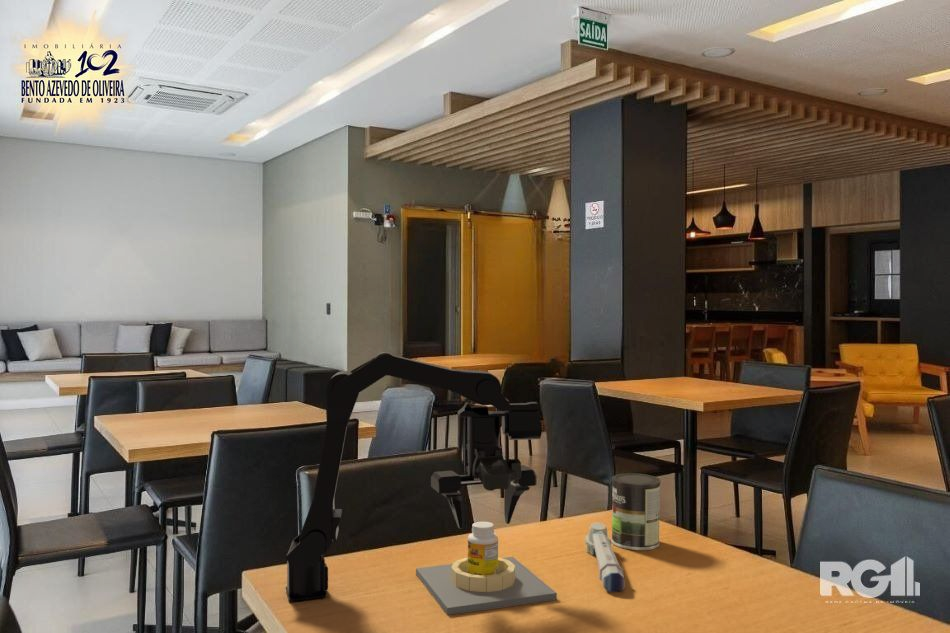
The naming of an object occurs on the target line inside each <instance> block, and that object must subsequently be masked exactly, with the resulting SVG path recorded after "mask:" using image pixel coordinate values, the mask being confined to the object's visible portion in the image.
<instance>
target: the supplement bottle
mask: <svg viewBox="0 0 950 633" xmlns="http://www.w3.org/2000/svg"><path fill="white" fill-rule="evenodd" d="M471 532H472V533H470V534H468V535H467V557H468V573H469V574H472V575H485V576H486V575H494V574H498V557H499V536H498V535H497V534H496V533H495V525H494V523H492V522H490V521H477V522H474V523H472V526H471Z"/></svg>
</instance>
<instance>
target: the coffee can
mask: <svg viewBox="0 0 950 633" xmlns="http://www.w3.org/2000/svg"><path fill="white" fill-rule="evenodd" d="M611 482H612V498H611V499H612V500H611V501H612V508H611V509H612V511H611V514H612V515H611V516H612V520H611V521H612V522H611V524H612V525H611V527H612V529H611V544H613V546H614V545H615V546H616V547H618V548H621V549H625V550H629V551H639V552H640V551H650V550H655V549H657V548H660V547H659V546H660V512H661V511H660V510H661V509H660V508H661V506H660V501H661V500H660V497H661V494H660V493H661V478H659V477H657V476H655V475H650V474H647V473H646V474H644V473H636V472H635V473H634V472H633V473H629V472H627V473H619V474H615V475H613V476H612V477H611Z"/></svg>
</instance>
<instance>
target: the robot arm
mask: <svg viewBox="0 0 950 633" xmlns="http://www.w3.org/2000/svg"><path fill="white" fill-rule="evenodd" d="M387 376H389V377H394V378H396V379H403V380H406V381H411V382H415V383H419V384H423V385H427V386H431V387H434V388H435V387H436V388H439V389H443V390H446V391H450V392H453V393H454V394H457V395H459V396H461V397H462V398H465V399H467V400H470V401H471V402H474V403H476V404H478V405H482V406H472V405H470V403H469V402H465V403H464V405H463V406H462V407H461V408H460V409H459V410H457V414H458V416H459V417H460V418H468V419H467V420H468V427H467V428H468V430H467V431H468V432H467V433H468V434H467V436H468V442H467V443H466V444H465V446H466V450H467V451H468V453H467V454H468V459H467V460H468V463H467V464H468V465H467V466H466V472H467V474H458V473H456V472H455V471H453V470H443V471H434V472H433V474H432V475H431V477H430V487H431V488H432V489H433V490H435V492H437V493H438V494H441V495H442V496H443V497H445V498H446V500H447V502H448V504H449V507H450V509H451V511H452V514H453V517H454V520H455V522H456V525H457V528H458V529H460V530H461V529H463V508H462V498H463V493H461V492H460V490H461V488H462V487H464V486H474V485H475V486H476V485H482V486H483V489H485V491H490V492H491V491H492V492H493V491H495V490H502V489H503V492H504V494H503V495H504V497H503V498H504V499H503V500H504V504H503V505H504V512H503V513H504V522H505V524H506V525H510V523H511V520H512V518H513V515H514V512H515V509H516V507H517V504H518V501H519V499H520V497H521V496H522V495H523V494H524V493H525V492H528V491H530V490H531V489H530V488H531V487H534V486H537V479H538V477H537V474H536V471H535V470H534V469H533V468H530V467H529V466H526V465H524V464H522V463H521V461H520V459H519V458H512V459H511V458H510V459H507V460H505V459H504V455H503V447H501V444H500V437H501V436H500V433H501V432H500V430H501V431H502V435H503V436H504V435H507V437H508V440H509V441H521V440H522V441H524V440H525V441H527V440H530V441H531V440H540V439H541V438H542V433H543V432H542V431H543V422H542V421H541V414H540V413H541V412H540V409H539V407H540V406H539V403H538V402H537V401H529V402H528V401H527V402H526V403H525V402H519V403H517V402H516V403H510V400H509V399H507V398H506V397H505V395H503V393H502V390H503V389H502V384H501V382H500V380H499V379H498V377H497V376H495V375H494V374H492V373H491V372H489V371H487V370H477V369H456V368H454V369H452V368H448V367H443V366H440V365H435V364H432V363H428V362H423V361H419V360H415V359H411V358H407V357H403V356H398V355H394V354H392V353H391V352H388V351H383V352H379V353H378V354H376V356H375V357H373V358H372V359H369V360H368V361H366V362H365V363H362V364H360V365H359V366H356V367H355V368H354V369H352V370H351V371H349V370H342V371H337V373H335V374H334V375H332V376H331V377H330V379H329V381H328V382H327V384H326V388H325V415H326V417H325V418H326V425H325V431H324V438H323V443H322V448H321V453H320V460H319V463H318V470H317V474H316V475H317V476H316V481H315V487H314V492H313V493H314V494H313V499H312V501H311V504H310V507H309V509H308V513H307V514H306V517H305V520H304V523H303V526H302V529H301V531H300V533H299V534H298V535H297V536H296V537H295V538H294V539H292V542H291V544H290V546H289V549H288V550H287V551H288V552H287V554H286V556H285V558H286V563H287V564H286V573H287V574H286V586H285V592H286V595H288V596H287V599H289V600H288V601H289V602H290V601H292V602H299V601H298V600H300V601H306V600H316V599H323V598H324V599H325V598H327V596H328V594H327V591H328V590H329V567H328V565H327V563H326V562H325V561H326V559H325V557H324V554H325V553H327V552H328V551H329V550H330V548H331V547H332V543H333V541H334V542H337V540H338V539H337V538H338V534H339V530H340V529H339V528H340V527H339V523H340V521H341V516H342V513H343V509H342V508H336V506H335V495H336V490H337V484H338V479H339V473H340V469H341V467H340V466H341V462H342V456H343V451H344V445H345V440H346V435H347V429H348V424H349V421H350V419H351V416H352V414H353V411H354V408H355V406H356V403H357V400H358V397H359V394H360V393H361V392H363V391H364V390H365V389H367V388H368V387H370V386H372V385H373V384H375V383H377V382H378V381H379V380H381V379H383V378H385V377H387ZM490 405H491V406H493V407H494V408H495V409H497V410H498V411H496V410H495V411H494V410H489V408H488V406H490ZM500 418H501V420H500ZM500 421H501V422H500ZM500 423H501V429H500Z"/></svg>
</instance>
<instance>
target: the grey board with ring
mask: <svg viewBox="0 0 950 633" xmlns="http://www.w3.org/2000/svg"><path fill="white" fill-rule="evenodd" d="M415 575H416V576H417V578H418V579H419V580H420V581H421V583H422V585H423V586H424V587H425V589H427V590H428V592H429V593H430V595H431V596H432V597H433V598H434V600H435V601H436V602H437V604H438V605H439V606H440V608H441V609H442V610H443V611H444V612H445V614H446V615H447V616H451V615H458V614H465V613H472V612H480V611H486V610H494V609H501V608H507V607H509V608H510V607H513V606H522V605H523V606H524V605H529V604H535V603H542V602H550V601H557V600H558V598H557V594H558V593H557V592H556V591H555V590H554V589H552V587H550V586H549V585H548V584H547V583H545V582H544V580H542V579H540V578H539V577H538V575H536V574H534V573H533V571H531V570H530V569H528V568H527V567H526V566H525V565H523V563H521V562H520V561H518V560H517V558H515V557H514V556H509V557H499V556H498V574H494V575H486V576H485V575H472V574H469V573H468V556H467V557H463V558H461V559H458V560H455V561H454V562H453V563H450V564H442V565H440V564H439V565H431V566H422V567H416V568H415Z"/></svg>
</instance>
